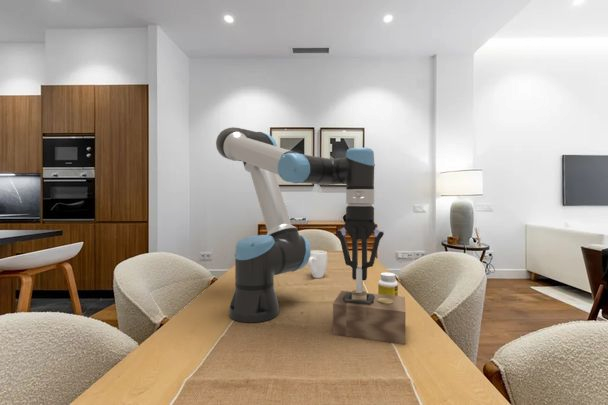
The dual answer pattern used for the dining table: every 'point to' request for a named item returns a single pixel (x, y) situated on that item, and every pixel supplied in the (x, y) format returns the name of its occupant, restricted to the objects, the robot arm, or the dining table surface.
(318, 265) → the mug
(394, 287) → the pill bottle
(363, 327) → the socket block
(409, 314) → the dining table surface
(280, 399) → the dining table surface
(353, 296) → the oak peg
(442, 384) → the dining table surface
